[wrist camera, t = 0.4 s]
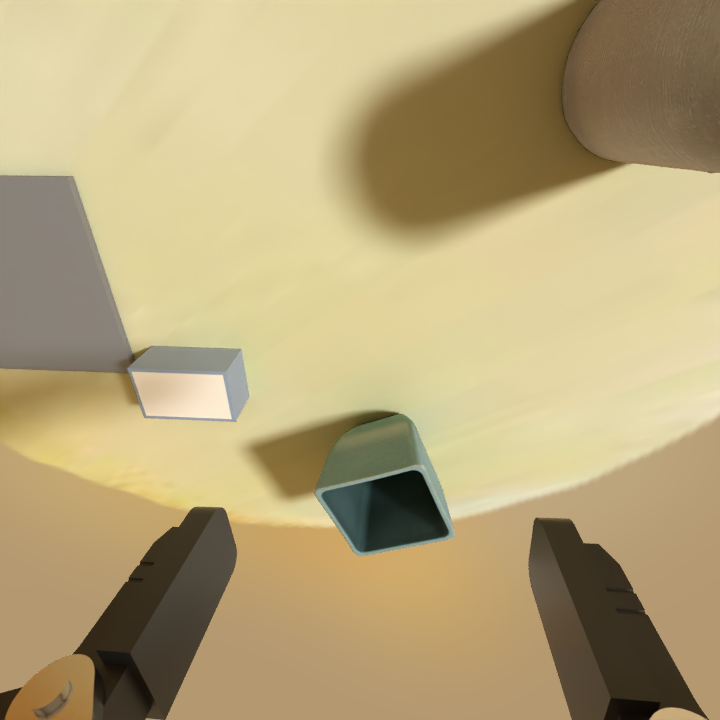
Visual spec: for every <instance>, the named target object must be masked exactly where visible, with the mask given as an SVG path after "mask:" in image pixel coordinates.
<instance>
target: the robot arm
mask: <svg viewBox="0 0 720 720" xmlns="http://www.w3.org/2000/svg"><path fill="white" fill-rule="evenodd" d="M236 557H237V550H236V544H235V541H234V538H233V534H232V531H231V527H230V524H229V520H228V517H227V513H226V511H225V509H224V508H219V507H194V508H193V509H191V510H190V512H189V513H188V515H187V516H186V517H185V519H184V521H183V522H182V523H181V525H180V526H179V527H172V528H171V529H170V530H169V531H167V532H166V533H165V534H164V535H163V536H161V537H160V538H159V539H158V540H157V541H155V542H154V544H153V545H152V546H151V548H150V549H149V551H148V552H147V553H146V554H145V556H144V557H143V559H142V560H141V561H140V565H139V566H137V567H136V569H135V570H134V571H133V573H132V574H131V575H130V577H129V581H128V582H125V584H124V585H123V586H122V588H121V589H120V591H119V592H118V593H117V595H116V597H115V598H114V599H113V600H112V602H111V603H110V605H109V606H108V607H107V609H106V610H105V612H104V613H103V614H102V616H101V617H100V619H99V620H98V621H97V623H96V624H95V625H94V627H93V628H92V630H91V631H90V632H89V634H88V635H87V636H86V638H85V639H84V641H83V642H82V644H81V645H80V646H79V647H78V649H77V650H76V651H75V652H74V653H73V654H72V655H69V656H65V657H62V658H60V659H58V660H56V661H54V662H52V663H51V664H49V665H47V666H46V667H45V668H43V669H42V670H40V671H39V672H38V673H37V674H35V675H34V676H33V677H32V678H31V679H30V680H29V681H28V682H27V683H26V684H25V685H24V686H23V687H22V688H18V689H14V690H11V691H7V692H4V693H0V720H145V719H146V718H153V719H161V720H165V719H166V717H167V715H168V713H169V711H170V708H171V706H172V704H173V702H174V700H175V697H176V695H177V693H178V691H179V689H180V687H181V684H182V682H183V680H184V677H185V676H186V673H187V671H188V669H189V667H190V665H191V663H192V660H193V658H194V656H195V654H196V651H197V649H198V647H199V645H200V643H201V641H202V639H203V636H204V634H205V632H206V630H207V628H208V625H209V623H210V621H211V619H212V617H213V614H214V612H215V610H216V608H217V606H218V604H219V601H220V599H221V597H222V595H223V593H224V591H225V588H226V586H227V584H228V582H229V580H230V577H231V575H232V573H233V571H234V567H235V563H236ZM529 577H530V582H531V587H532V590H533V594H534V597H535V601H536V604H537V607H538V610H539V614H540V617H541V620H542V623H543V627H544V630H545V633H546V636H547V639H548V643H549V646H550V649H551V653H552V656H553V659H554V662H555V666H556V669H557V672H558V676H559V679H560V682H561V685H562V689H563V692H564V695H565V698H566V702H567V705H568V708H569V712H570V715H571V717H572V720H709V719H708V718H707V716H706V715H705V714H704V713H703V711H702V710H701V708H700V707H699V705H698V704H697V702H696V700H695V699H694V698H693V695H692V694H691V692H690V690H689V688H688V686H687V685H686V683H685V681H684V680H683V677H682V676H681V674H680V672H679V670H678V669H677V667H676V665H675V663H674V661H673V660H672V658H671V656H670V654H669V652H668V651H667V649H666V647H665V645H664V643H663V642H662V640H661V638H660V636H659V634H658V633H657V631H656V629H655V627H654V626H653V624H652V622H651V620H650V618H649V616H648V615H646V614H645V611H644V608H643V606H642V604H641V602H640V601H639V599H638V597H637V595H636V594H634V592H633V588H632V586H631V584H630V582H629V581H628V579H627V577H626V575H625V574H624V572H623V570H622V568H621V566H620V565H619V564H618V563H617V562H616V561H615V560H614V559H613V558H612V557H611V556H610V555H609V554H608V553H607V552H606V551H605V550H604V549H603V548H602V547H601V546H600V545H599V544H585V543H583V541H582V539H581V537H580V535H579V533H578V531H577V529H576V527H575V525H574V524H573V522H572V521H571V520H570V519H561V518H536V519H535V520H534V525H533V533H532V540H531V548H530V556H529Z"/></svg>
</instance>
